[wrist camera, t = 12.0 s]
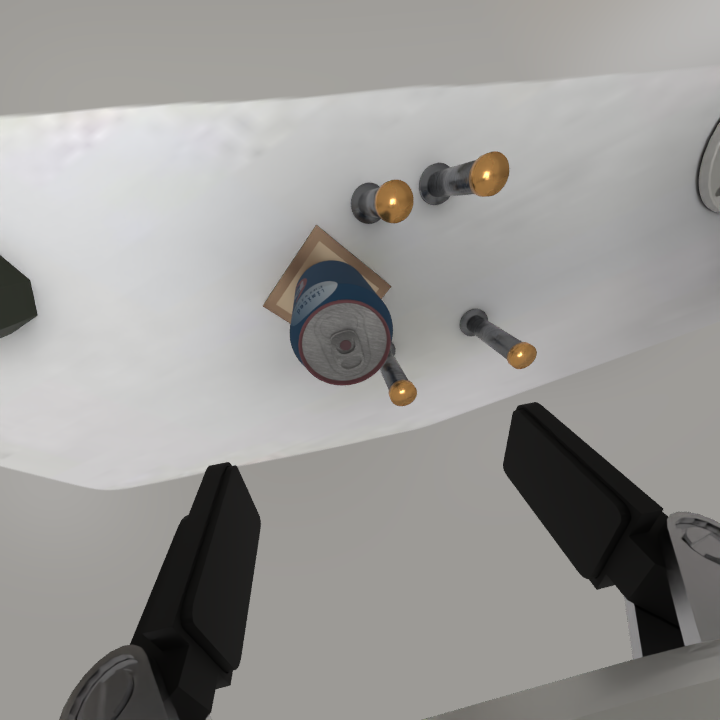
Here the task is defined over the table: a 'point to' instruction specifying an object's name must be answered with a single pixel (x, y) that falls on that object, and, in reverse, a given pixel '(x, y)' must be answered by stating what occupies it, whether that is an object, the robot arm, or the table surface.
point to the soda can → (339, 324)
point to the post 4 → (498, 339)
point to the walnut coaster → (310, 254)
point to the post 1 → (382, 202)
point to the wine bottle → (14, 299)
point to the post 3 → (464, 178)
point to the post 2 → (397, 381)
